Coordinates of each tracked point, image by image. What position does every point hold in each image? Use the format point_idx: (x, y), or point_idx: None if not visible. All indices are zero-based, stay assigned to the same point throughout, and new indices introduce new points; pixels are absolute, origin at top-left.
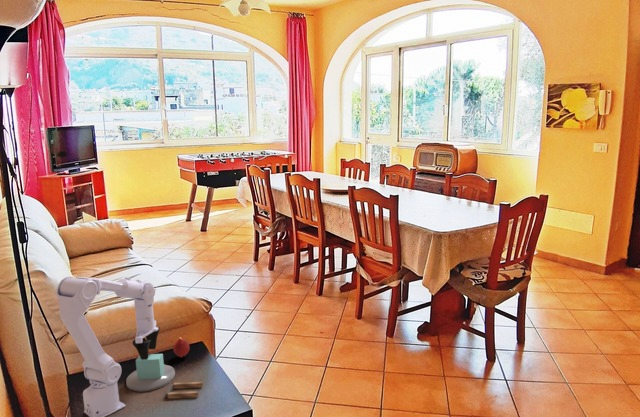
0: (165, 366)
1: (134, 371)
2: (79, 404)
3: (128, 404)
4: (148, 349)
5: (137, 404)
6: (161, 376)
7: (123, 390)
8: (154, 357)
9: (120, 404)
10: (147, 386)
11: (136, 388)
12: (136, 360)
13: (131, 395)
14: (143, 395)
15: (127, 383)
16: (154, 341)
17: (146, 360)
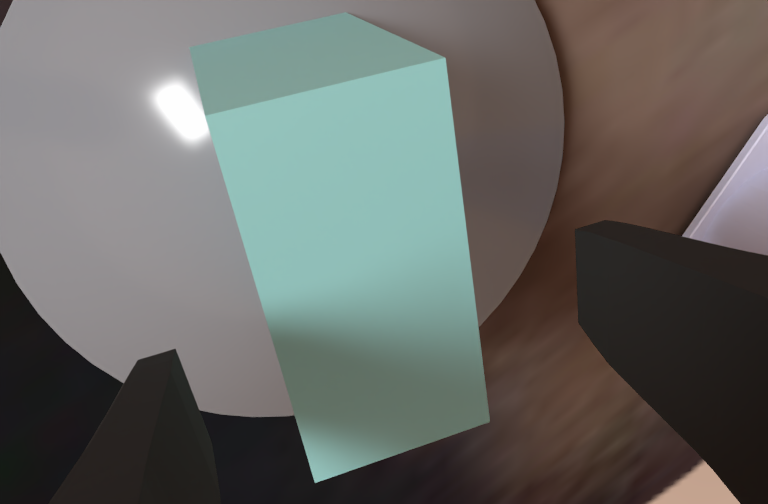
0: (26, 130)
1: (247, 414)
2: (684, 455)
3: (733, 107)
4: (733, 279)
5: (746, 19)
6: (322, 18)
7: (522, 298)
8: (382, 193)
9: (763, 162)
10: (530, 76)
11: (555, 178)
12: (487, 408)
13: (602, 173)
14: (609, 52)
15: (480, 319)
16: (162, 473)
17: (466, 274)
